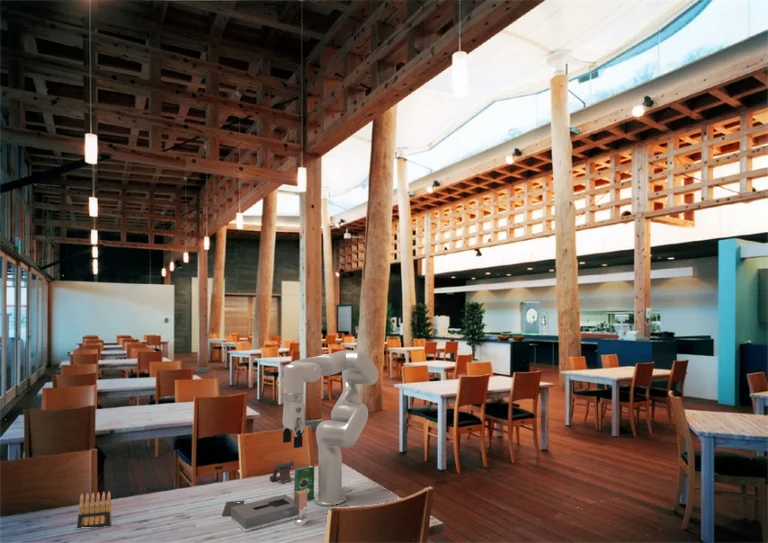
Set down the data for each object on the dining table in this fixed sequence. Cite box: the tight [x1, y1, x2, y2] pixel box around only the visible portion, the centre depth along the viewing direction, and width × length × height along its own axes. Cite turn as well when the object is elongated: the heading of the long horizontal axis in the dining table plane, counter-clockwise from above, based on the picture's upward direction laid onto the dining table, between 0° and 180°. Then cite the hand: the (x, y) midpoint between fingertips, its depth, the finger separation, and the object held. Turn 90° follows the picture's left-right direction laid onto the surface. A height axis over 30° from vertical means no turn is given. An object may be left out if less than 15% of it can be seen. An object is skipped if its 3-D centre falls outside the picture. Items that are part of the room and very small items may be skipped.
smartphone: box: [221, 500, 246, 517], centre depth 201 cm, size 7×1×15 cm
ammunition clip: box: [76, 491, 112, 529], centre depth 185 cm, size 11×2×12 cm, turn 105°
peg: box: [294, 490, 308, 526], centre depth 187 cm, size 4×4×11 cm
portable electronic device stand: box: [269, 460, 295, 485], centre depth 235 cm, size 9×8×8 cm
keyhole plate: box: [230, 494, 299, 533], centre depth 192 cm, size 22×14×4 cm, turn 127°
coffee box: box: [293, 465, 315, 501], centre depth 210 cm, size 8×3×13 cm, turn 129°
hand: (292, 444), depth 191 cm, fingers open, 9 cm apart
